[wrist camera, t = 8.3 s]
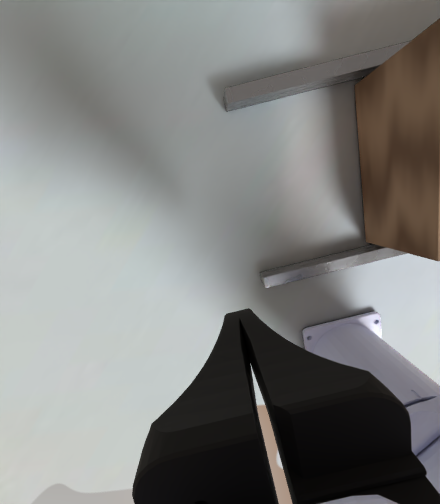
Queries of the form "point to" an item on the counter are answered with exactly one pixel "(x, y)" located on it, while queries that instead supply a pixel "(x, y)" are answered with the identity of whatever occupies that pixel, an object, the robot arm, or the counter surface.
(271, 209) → the counter surface
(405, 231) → the housing
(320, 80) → the guide rails
